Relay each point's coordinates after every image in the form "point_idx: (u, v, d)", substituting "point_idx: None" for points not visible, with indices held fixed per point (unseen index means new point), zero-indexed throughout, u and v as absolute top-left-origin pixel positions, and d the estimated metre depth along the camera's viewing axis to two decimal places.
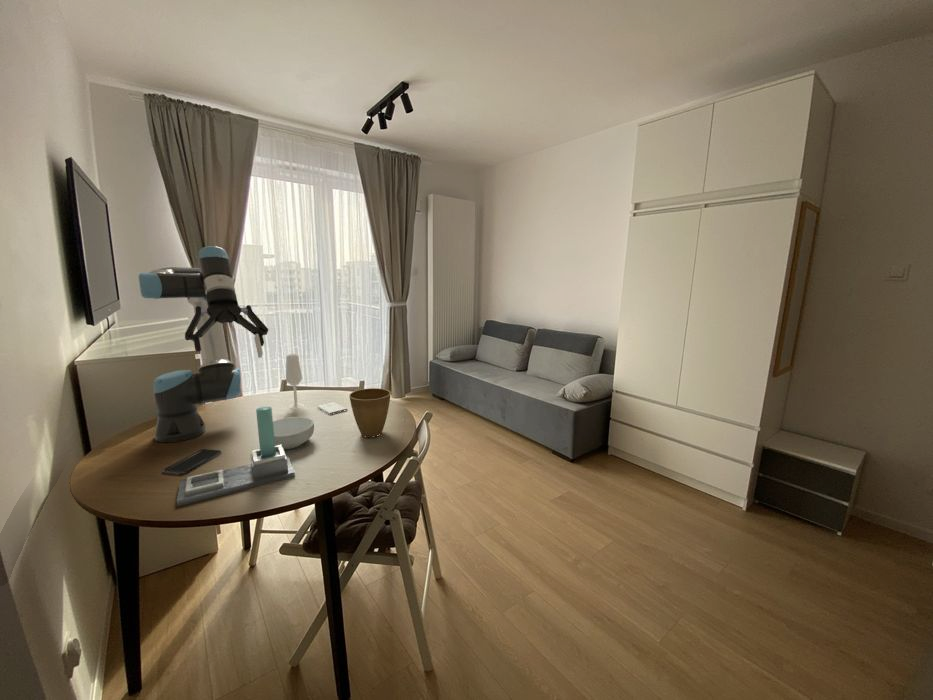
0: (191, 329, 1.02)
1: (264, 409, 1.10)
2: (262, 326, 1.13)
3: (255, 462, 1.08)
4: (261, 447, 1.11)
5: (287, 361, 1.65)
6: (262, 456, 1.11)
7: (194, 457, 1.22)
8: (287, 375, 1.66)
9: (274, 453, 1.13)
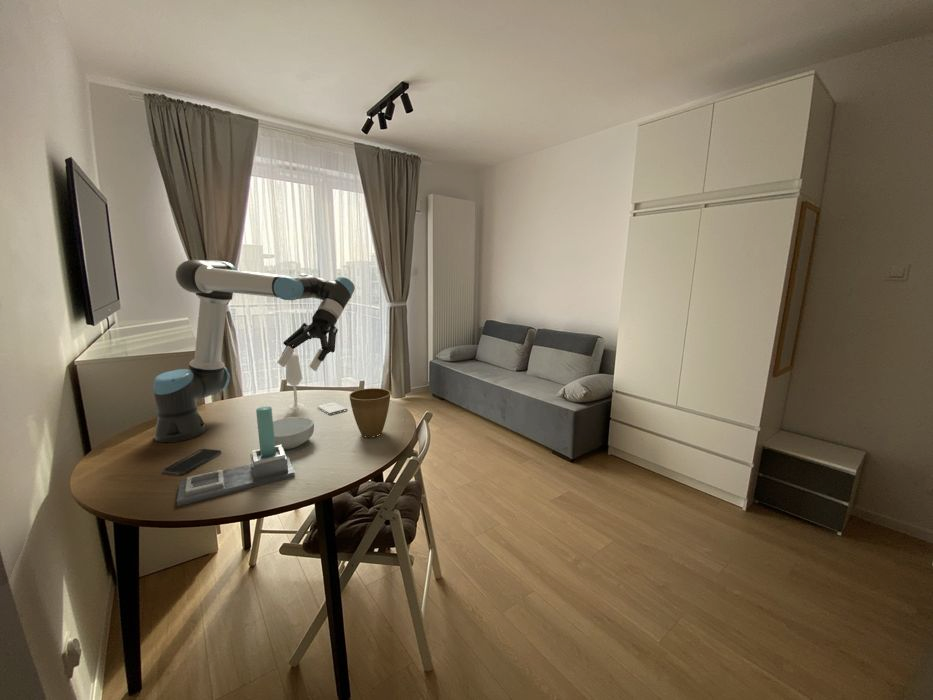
0: None
1: (264, 409, 1.10)
2: None
3: (255, 462, 1.08)
4: (261, 447, 1.11)
5: None
6: (262, 456, 1.11)
7: (194, 457, 1.22)
8: (287, 375, 1.66)
9: (274, 453, 1.13)
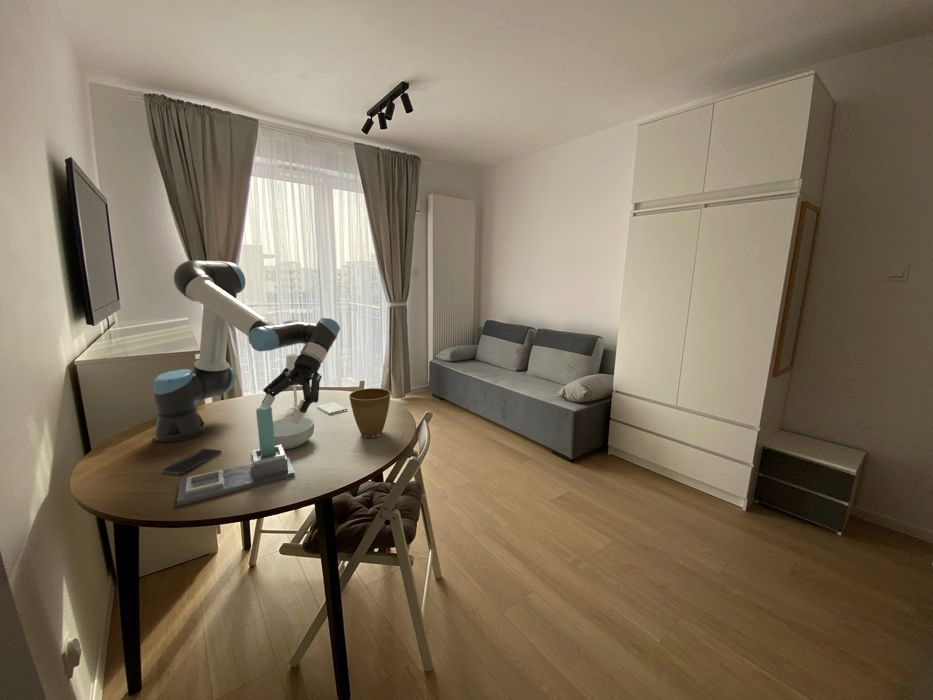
0: None
1: (264, 409, 1.10)
2: None
3: (255, 462, 1.08)
4: (261, 447, 1.11)
5: (287, 361, 1.65)
6: (262, 456, 1.11)
7: (194, 457, 1.22)
8: None
9: (274, 453, 1.13)
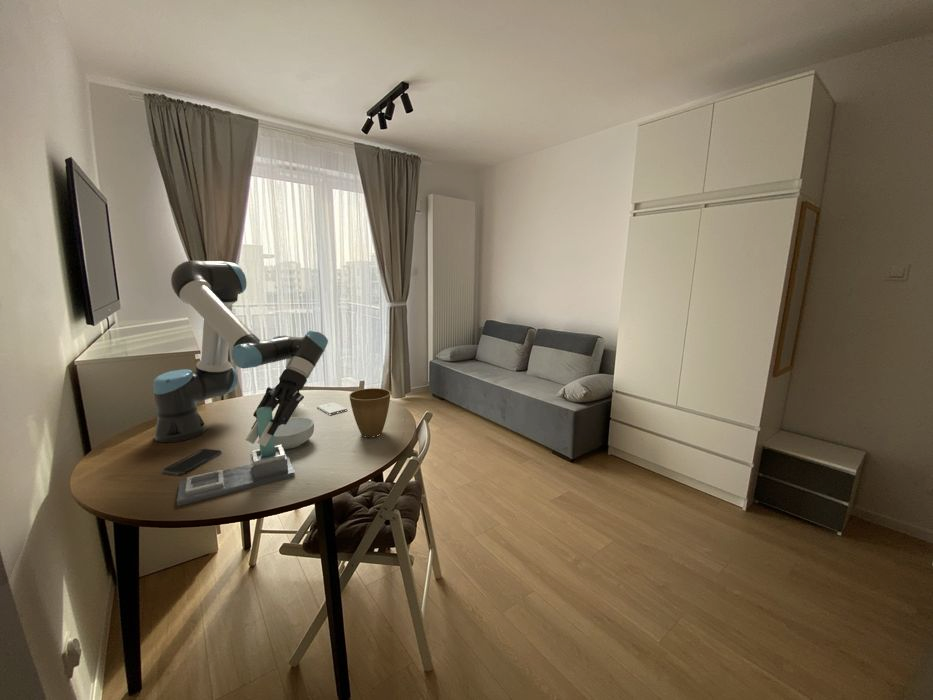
0: None
1: (264, 409, 1.10)
2: None
3: (255, 462, 1.08)
4: (261, 447, 1.11)
5: (287, 361, 1.65)
6: (262, 456, 1.11)
7: (194, 457, 1.22)
8: None
9: (274, 453, 1.13)
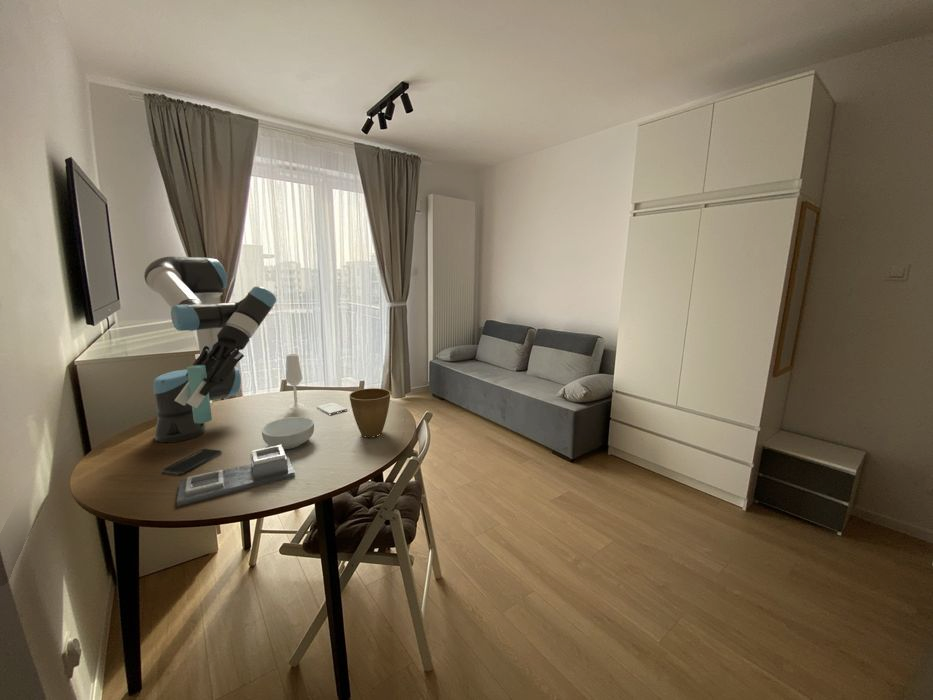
0: None
1: (196, 367, 0.99)
2: None
3: (255, 462, 1.08)
4: (193, 409, 1.00)
5: (287, 361, 1.65)
6: (195, 419, 1.01)
7: (194, 457, 1.22)
8: (287, 375, 1.66)
9: (209, 417, 1.02)
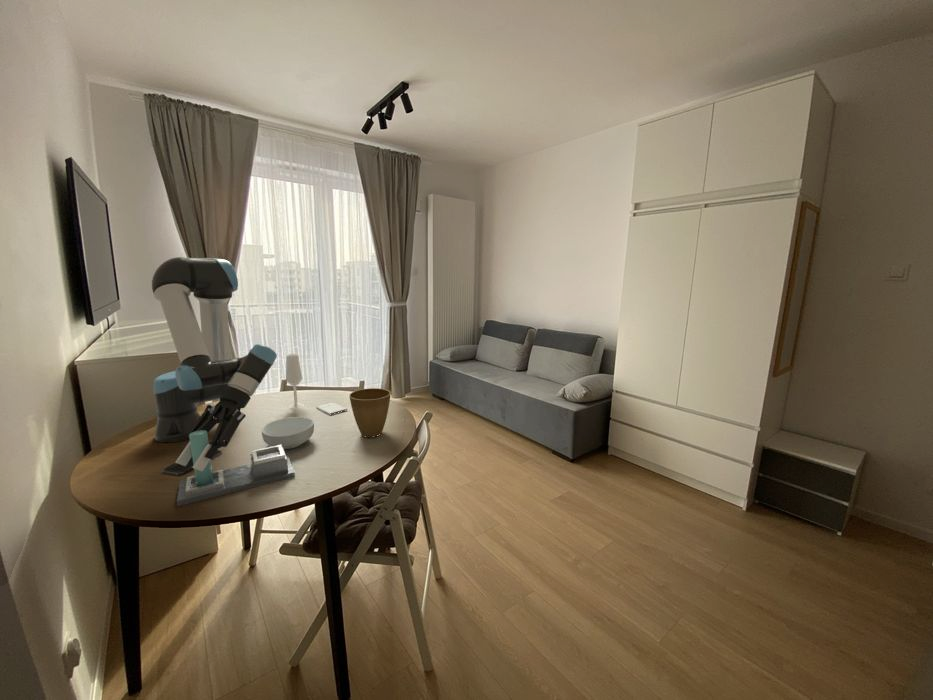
0: None
1: (198, 434, 1.02)
2: None
3: (255, 462, 1.08)
4: (196, 474, 1.03)
5: (287, 361, 1.65)
6: (197, 484, 1.04)
7: None
8: (287, 375, 1.66)
9: (211, 480, 1.05)
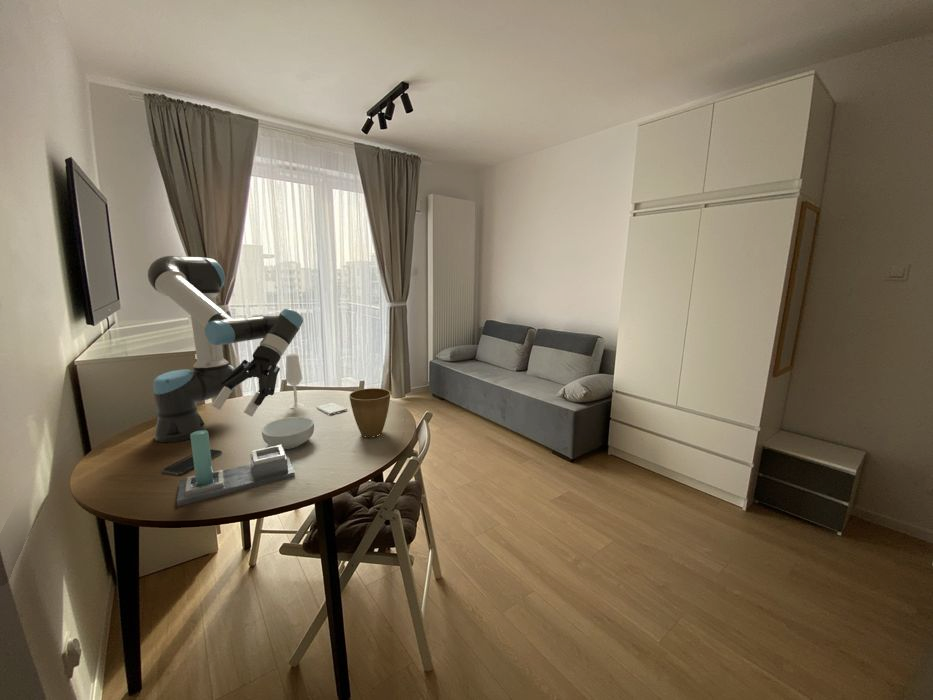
0: None
1: (199, 434, 1.02)
2: None
3: (255, 462, 1.08)
4: (196, 474, 1.03)
5: (287, 361, 1.65)
6: (197, 484, 1.04)
7: None
8: (287, 375, 1.66)
9: (211, 480, 1.05)
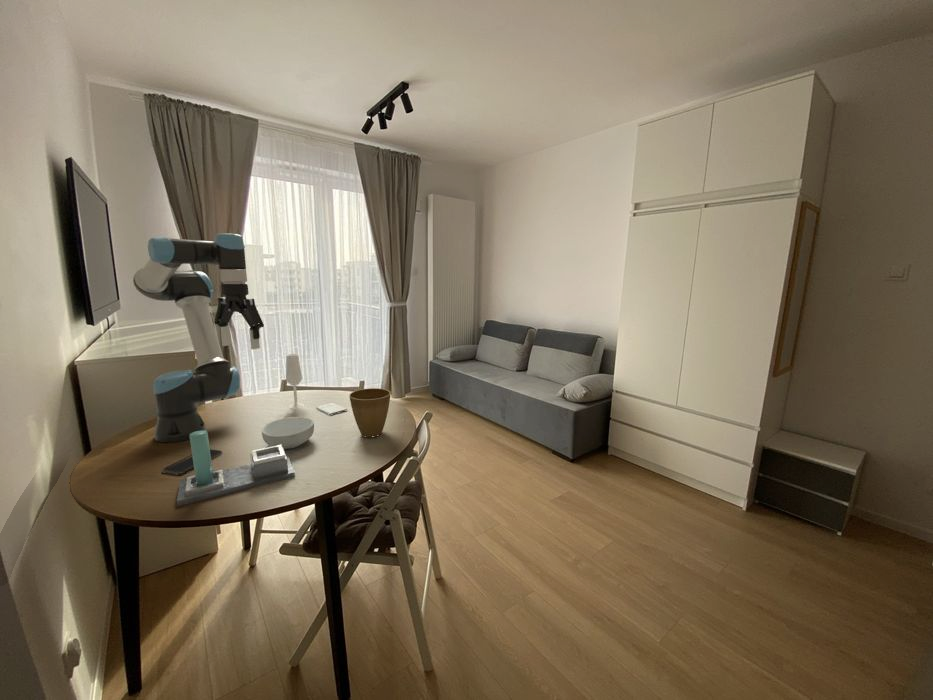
0: None
1: (199, 434, 1.02)
2: None
3: (255, 462, 1.08)
4: (196, 474, 1.03)
5: (287, 361, 1.65)
6: (197, 484, 1.04)
7: None
8: (287, 375, 1.66)
9: (211, 480, 1.05)
